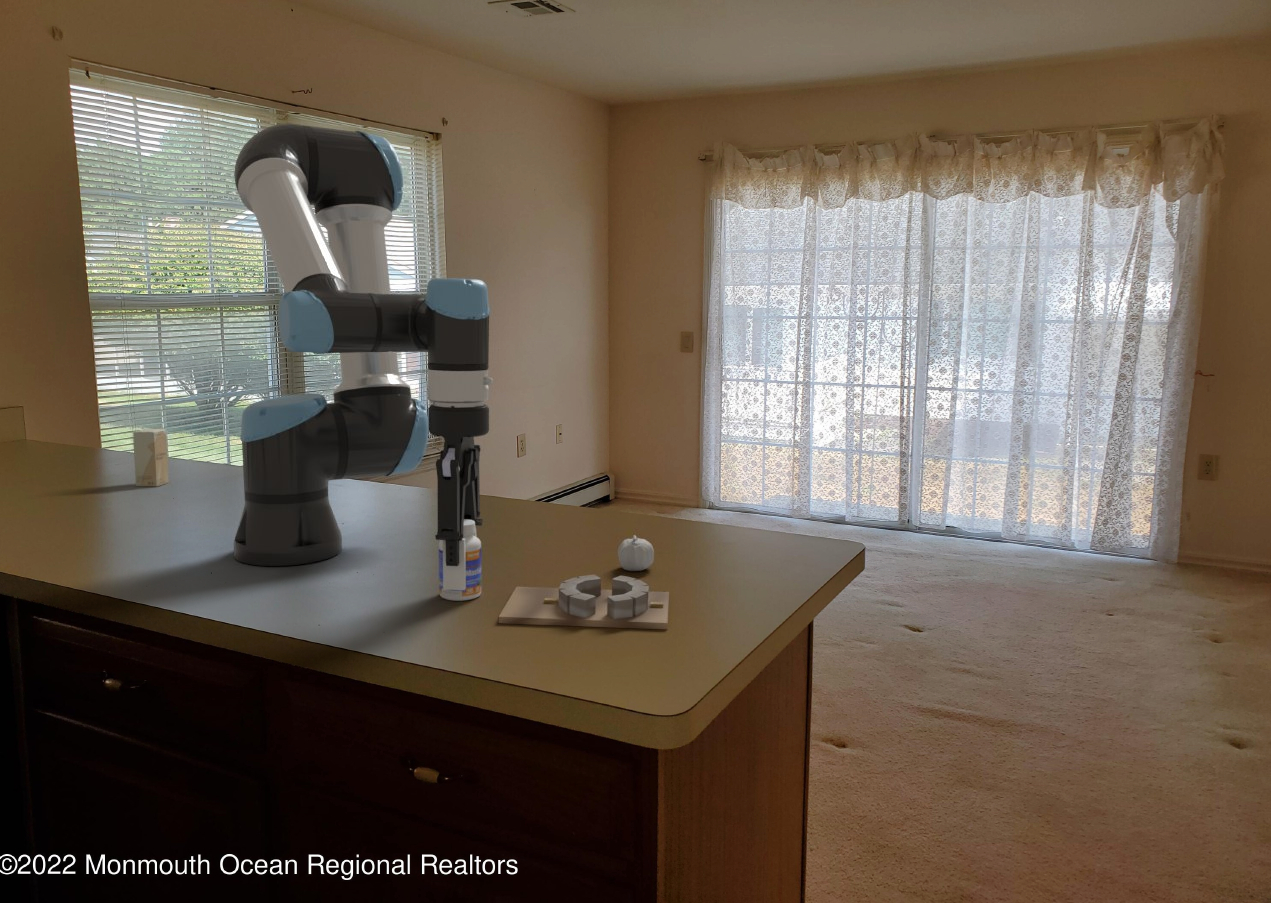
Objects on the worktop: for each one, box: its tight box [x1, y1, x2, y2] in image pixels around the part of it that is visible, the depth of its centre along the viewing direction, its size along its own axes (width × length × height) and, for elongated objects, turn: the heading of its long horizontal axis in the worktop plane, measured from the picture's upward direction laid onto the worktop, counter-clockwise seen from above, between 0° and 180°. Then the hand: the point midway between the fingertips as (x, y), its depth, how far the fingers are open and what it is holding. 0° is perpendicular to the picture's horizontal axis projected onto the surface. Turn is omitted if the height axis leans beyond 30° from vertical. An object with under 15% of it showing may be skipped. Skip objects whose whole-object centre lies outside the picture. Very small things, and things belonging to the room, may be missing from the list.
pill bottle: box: [438, 519, 482, 602], centre depth 119 cm, size 5×5×10 cm
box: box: [132, 428, 170, 487], centre depth 185 cm, size 5×4×11 cm
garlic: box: [617, 534, 655, 572], centre depth 133 cm, size 6×5×5 cm
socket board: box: [498, 574, 670, 630], centre depth 115 cm, size 20×12×3 cm, turn 87°
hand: (460, 581), depth 119 cm, fingers closed on pill bottle, 5 cm apart
